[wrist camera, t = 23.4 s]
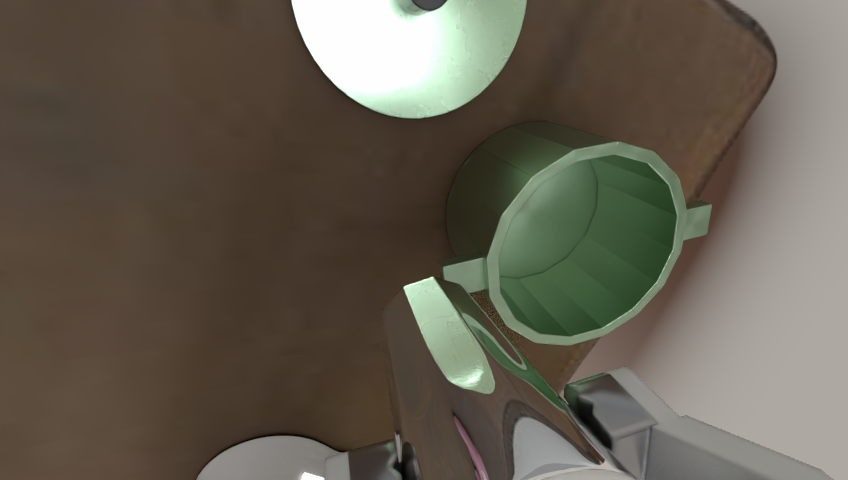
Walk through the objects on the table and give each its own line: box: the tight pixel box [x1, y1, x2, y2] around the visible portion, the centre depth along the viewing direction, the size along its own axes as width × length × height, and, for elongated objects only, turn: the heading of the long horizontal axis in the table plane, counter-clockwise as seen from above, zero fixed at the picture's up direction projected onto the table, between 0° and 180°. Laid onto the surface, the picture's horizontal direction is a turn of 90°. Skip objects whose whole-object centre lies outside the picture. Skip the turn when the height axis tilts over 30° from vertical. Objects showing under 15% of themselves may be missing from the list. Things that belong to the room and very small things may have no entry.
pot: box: [439, 121, 712, 345], centre depth 32 cm, size 15×20×10 cm
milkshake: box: [381, 277, 638, 480], centre depth 10 cm, size 5×5×10 cm
